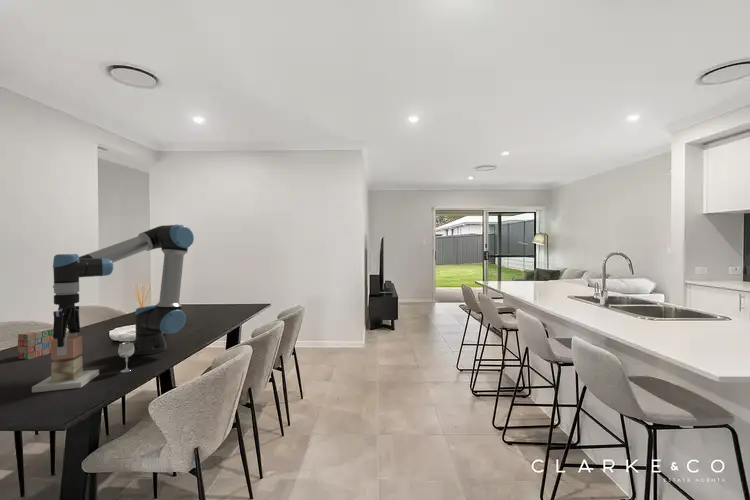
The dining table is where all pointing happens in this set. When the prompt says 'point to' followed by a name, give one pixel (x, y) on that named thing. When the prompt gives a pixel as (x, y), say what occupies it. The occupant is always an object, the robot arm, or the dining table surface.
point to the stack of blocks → (35, 343)
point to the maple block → (66, 368)
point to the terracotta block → (68, 348)
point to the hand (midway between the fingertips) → (67, 352)
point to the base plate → (65, 382)
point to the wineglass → (126, 352)
